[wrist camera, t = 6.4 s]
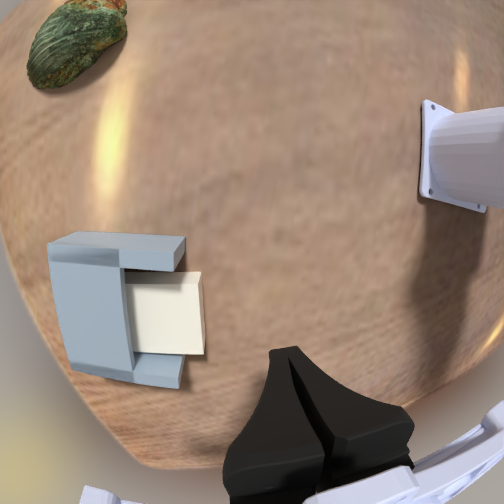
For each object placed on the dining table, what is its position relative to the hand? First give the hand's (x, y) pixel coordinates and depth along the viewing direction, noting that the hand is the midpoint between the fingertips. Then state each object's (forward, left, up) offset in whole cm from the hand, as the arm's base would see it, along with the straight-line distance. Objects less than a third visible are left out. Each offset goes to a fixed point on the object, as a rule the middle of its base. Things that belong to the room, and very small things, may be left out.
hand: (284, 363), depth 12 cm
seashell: (+17, -20, -7) cm, 27 cm away
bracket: (+10, 0, -7) cm, 12 cm away
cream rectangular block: (+8, +1, -7) cm, 11 cm away
